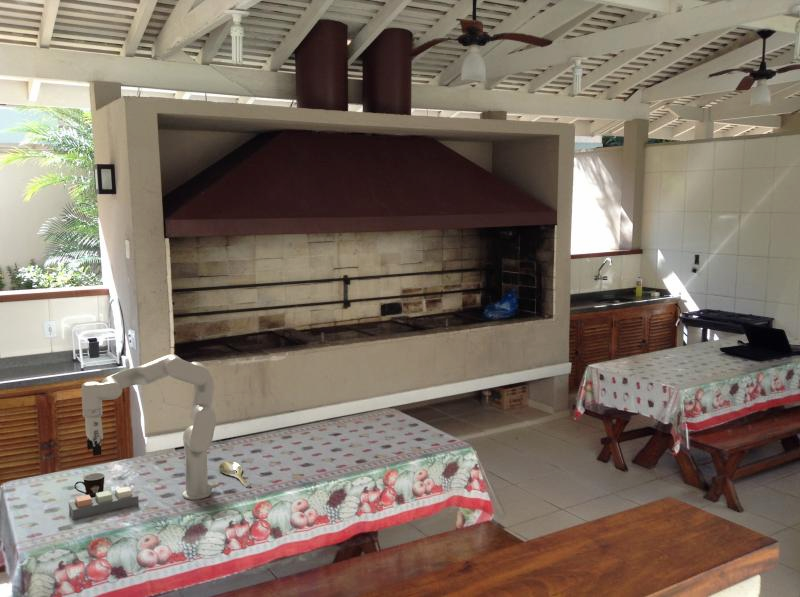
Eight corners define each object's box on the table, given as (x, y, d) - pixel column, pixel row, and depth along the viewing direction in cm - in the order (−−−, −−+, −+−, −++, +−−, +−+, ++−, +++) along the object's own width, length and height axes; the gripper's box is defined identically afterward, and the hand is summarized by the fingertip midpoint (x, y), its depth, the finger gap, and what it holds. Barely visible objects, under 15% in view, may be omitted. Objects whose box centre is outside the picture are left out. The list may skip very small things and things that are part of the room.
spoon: (260, 490, 330) (260, 485, 330) (238, 494, 325) (238, 490, 324) (235, 462, 359) (235, 458, 359) (214, 466, 354) (214, 462, 353)
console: (133, 498, 315) (132, 489, 314) (138, 506, 308) (138, 496, 307) (69, 512, 300) (68, 502, 300) (73, 520, 293) (72, 510, 292)
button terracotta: (89, 503, 303) (89, 494, 302) (92, 507, 298) (91, 498, 298) (75, 506, 300) (75, 497, 299) (78, 510, 295) (77, 501, 295)
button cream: (128, 495, 312) (128, 486, 311) (131, 499, 307) (131, 490, 307) (115, 497, 309) (115, 489, 308) (118, 502, 304) (118, 493, 304)
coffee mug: (108, 494, 320) (107, 472, 319) (101, 502, 311) (100, 480, 310) (82, 494, 320) (81, 473, 318) (74, 502, 311) (73, 480, 310)
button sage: (109, 499, 307) (108, 490, 307) (112, 503, 303) (111, 494, 302) (95, 502, 304) (95, 493, 304) (98, 506, 300) (98, 497, 299)
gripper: (107, 415, 290) (109, 456, 292) (97, 405, 304) (98, 444, 306) (87, 418, 285) (89, 459, 287) (78, 408, 299) (80, 448, 301)
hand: (94, 451), depth 297 cm, fingers open, 9 cm apart
